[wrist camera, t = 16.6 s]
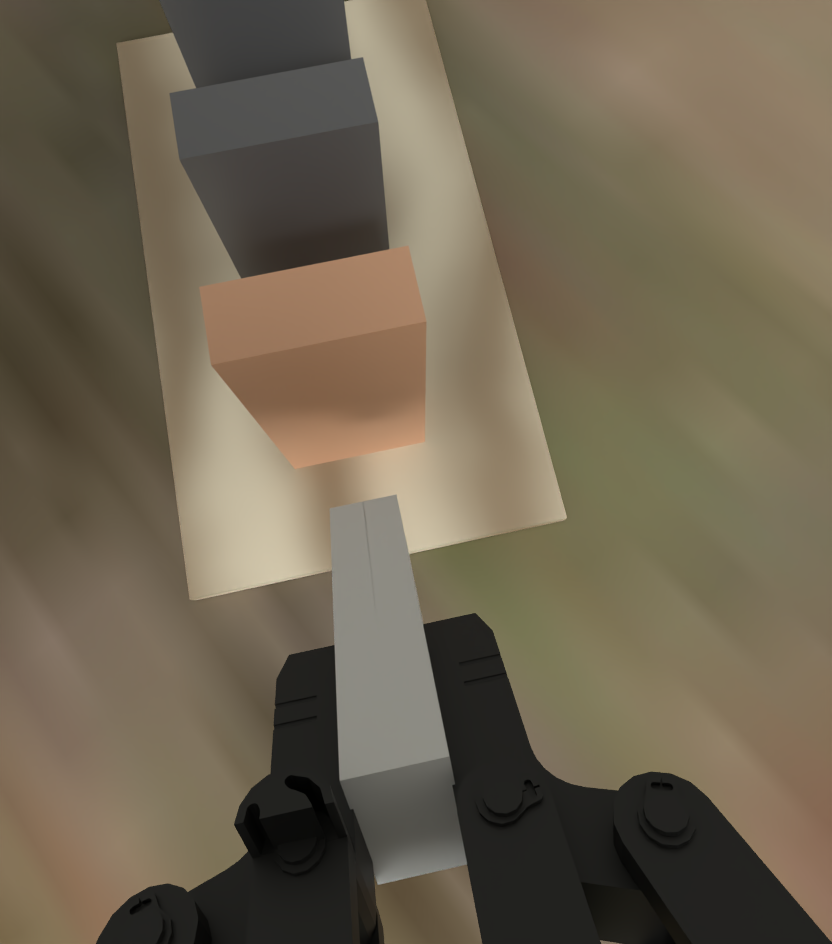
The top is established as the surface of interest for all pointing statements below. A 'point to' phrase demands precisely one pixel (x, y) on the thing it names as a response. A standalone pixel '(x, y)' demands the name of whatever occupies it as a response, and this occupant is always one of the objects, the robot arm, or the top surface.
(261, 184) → the dark grey block
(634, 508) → the top surface
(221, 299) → the salmon orange block
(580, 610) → the top surface
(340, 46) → the grey rectangular slab
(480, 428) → the birch board
